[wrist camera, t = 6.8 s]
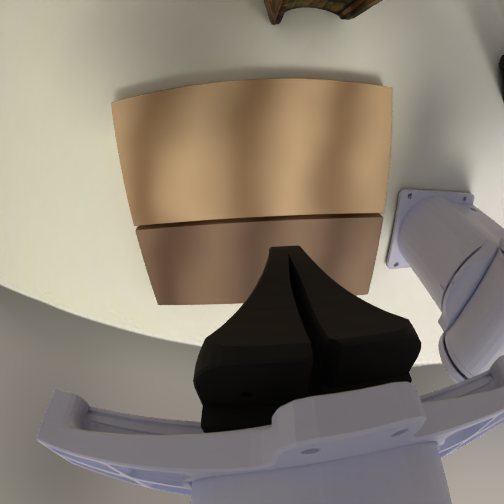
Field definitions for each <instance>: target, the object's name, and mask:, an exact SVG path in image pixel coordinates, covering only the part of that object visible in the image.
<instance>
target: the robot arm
mask: <svg viewBox="0 0 504 504" xmlns="http://www.w3.org/2000/svg"><path fill="white" fill-rule="evenodd" d="M410 193H411V195H410V197H408V195H409V194H410ZM463 198H464V199H463ZM473 202H474V195H473V194H471V193H461V192H448V191H432V190H412V189H403V190H401V191H400V193H399V198H398V205H397V211H396V217H395V223H394V228H393V234H392V239H391V244H390V249H389V253H388V258H387V262H386V265H387V267H388V268H389V269H395V268H407V267H411V268H412V270H413V271H414V272H415V274H416V275H417V277H418V278H419V279H420V281H421V282H422V284H423V285H424V286H425V288H426V289H427V291H428V292H429V294H430V295H431V297H432V298H433V300H434V301H435V303H436V304H437V306H438V307H439V309H440V310H441V312H442V315H441V317H440V318H439V320H438V323H439V324H440V326H441V328H442V329H443V331H444V333H443V334H442V335H441V337H440V340H439V345H438V346H439V353H440V357H441V361H442V364H443V366H444V368H445V370H446V372H447V373H448V375H449V376H450V377H451V378H452V379H453V381H454V382H456V384H454V385H451V386H449V387H446V388H443V389H440V390H437V391H434V392H431V393H428V394H425V395H422V396H419V395H418V392H417V389H416V387H415V386H414V385H412V384H411V381H412V379H411V377H410V374H409V371H410V369H411V367H412V366H413V364H414V362H415V361H416V359H417V357H418V355H419V353H420V350H421V342H420V340H419V338H418V335H417V333H416V331H415V329H414V327H413V326H412V324H411V323H410V321H409V319H406V318H403V317H400V316H397V315H394V314H392V313H389V312H386V311H384V310H382V309H380V308H377V307H375V306H373V305H371V304H369V303H367V302H365V301H364V300H362V299H360V298H359V297H357V296H355V295H354V294H352V293H350V292H349V291H347V290H346V289H345V288H343V287H342V286H340V285H339V284H338V283H337V282H335V281H334V280H333V279H332V278H331V277H329V276H328V275H327V274H326V273H325V272H324V271H323V270H322V269H321V268H320V267H319V266H318V265H317V264H316V263H315V262H314V261H313V260H312V259H311V258H310V257H309V256H308V254H307V253H306V252H305V251H304V250H303V249H302V248H301V247H300V246H299V245H297V246H278V247H271V248H270V249H269V255H268V259H267V263H266V265H265V268H264V270H263V273H262V275H261V277H260V279H259V281H258V283H257V285H256V286H255V288H254V290H253V291H252V293H251V294H250V296H249V297H248V299H247V300H246V301H245V302H244V304H243V305H242V306H241V307H240V309H239V310H238V311H237V312H236V313H235V314H234V315H233V316H232V317H231V318H230V319H229V320H228V321H227V322H226V323H225V324H224V325H222V326H221V327H220V328H219V329H217V330H216V331H215V332H214V333H212V334H211V335H210V336H208V337H207V338H206V339H205V341H204V343H203V345H202V347H201V350H200V353H199V355H198V359H197V362H196V367H195V373H194V379H193V382H194V387H195V389H196V391H197V394H198V396H199V398H200V400H201V403H202V405H203V409H202V418H201V422H193V421H180V420H169V419H160V418H152V417H144V416H138V415H131V414H126V413H120V412H115V411H110V410H105V409H100V408H95V407H91V406H89V404H88V403H87V402H86V401H85V400H84V399H83V398H82V397H81V396H79V395H77V394H74V393H71V392H67V391H63V390H59V389H55V390H54V392H53V394H52V397H51V399H50V402H49V404H48V407H47V409H46V412H45V414H44V417H43V420H42V422H41V425H40V428H39V431H38V434H37V437H36V439H37V441H39V442H40V443H42V444H43V445H44V446H46V447H47V448H49V449H50V450H52V451H53V452H55V453H56V454H58V455H60V456H61V457H63V458H64V459H66V460H67V461H69V462H71V463H73V464H75V465H78V466H80V467H83V468H86V469H89V470H91V471H94V472H97V473H100V474H103V475H106V476H109V477H112V478H116V479H119V480H122V481H125V482H129V483H132V484H136V485H140V486H144V487H148V488H152V489H156V490H161V491H166V492H171V493H176V494H182V495H188V496H191V501H190V504H452V503H451V499H450V494H449V490H448V486H447V481H446V477H445V473H444V470H443V466H442V463H441V459H440V458H441V457H443V456H445V455H447V454H449V453H451V452H453V451H455V450H457V449H459V448H461V447H463V446H464V445H466V444H468V443H470V442H471V441H473V440H475V439H477V438H478V437H480V436H482V435H483V434H485V433H486V432H488V431H490V430H491V429H493V428H495V427H496V426H498V425H499V424H501V423H502V422H504V228H502V227H501V226H500V225H499V224H497V223H496V222H495V221H494V220H492V219H491V218H490V217H488V216H487V215H486V214H485V213H483V212H482V211H481V210H479V209H478V208H477V207H475V206H474V205H473ZM396 262H397V263H396ZM395 263H396V264H395Z"/></svg>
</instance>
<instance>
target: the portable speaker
mask: <svg viewBox="0 0 504 504" xmlns="http://www.w3.org/2000/svg"><path fill="white" fill-rule="evenodd" d="M499 64H500V65H501V66H502V67H503V71H504V55H502V57H501V60H500V62H499Z"/></svg>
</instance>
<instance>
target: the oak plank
mask: <svg viewBox="0 0 504 504" xmlns="http://www.w3.org/2000/svg"><path fill="white" fill-rule="evenodd" d="M111 105H112V114H113V121H114V128H115V135H116V141H117V147H118V153H119V159H120V164H121V169H122V174H123V179H124V184H125V189H126V193H127V198H128V202H129V207H130V211H131V215H132V219H133V223H134V226H139V225H150V224H161V223H173V222H186V221H200V220H214V219H229V218H246V217H265V216H286V215H311V214H346V213H384V208H385V201H386V193H387V184H388V175H389V164H390V151H391V134H392V87H386V86H379V85H372V84H365V83H356V82H347V81H335V80H320V79H253V80H237V81H225V82H215V83H207V84H199V85H192V86H185V87H179V88H173V89H168V90H162V91H157V92H153V93H148V94H143V95H139V96H135V97H131V98H127V99H123V100H119V101H115V102H112V103H111Z"/></svg>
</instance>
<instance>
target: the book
mask: <svg viewBox="0 0 504 504" xmlns="http://www.w3.org/2000/svg"><path fill="white" fill-rule="evenodd" d="M380 1H382V0H264V3H265V6H266V9H267V12H268V16H269V19H270V22H271V24H272V25H276V24H279V23H280V22H281V20H282V18H283V15H284V13H285V12H286V11H288V10H291V9H295V8H301V7H311V8H318V9H323V10H327V11H330V12H332V13H335V14H337V15H339V17H340V18H341V19H352V18H355V17H356V16H358V15H360V14H361V13H363V12H364V11H366V10H367V9H369V8H371V7H372V6H374V5H376V4H377V3H379V2H380Z"/></svg>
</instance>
